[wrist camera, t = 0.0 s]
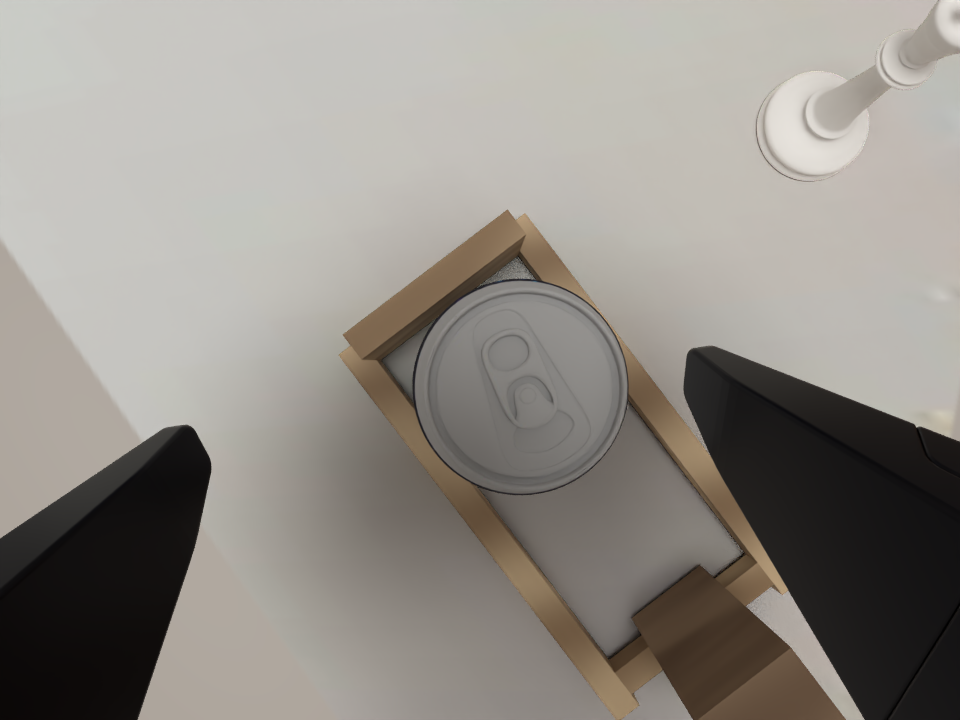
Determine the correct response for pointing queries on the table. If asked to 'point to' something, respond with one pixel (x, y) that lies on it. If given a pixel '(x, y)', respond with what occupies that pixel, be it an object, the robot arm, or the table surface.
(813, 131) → the chess piece
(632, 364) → the wooden frame
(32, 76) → the table surface
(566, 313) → the beverage can
